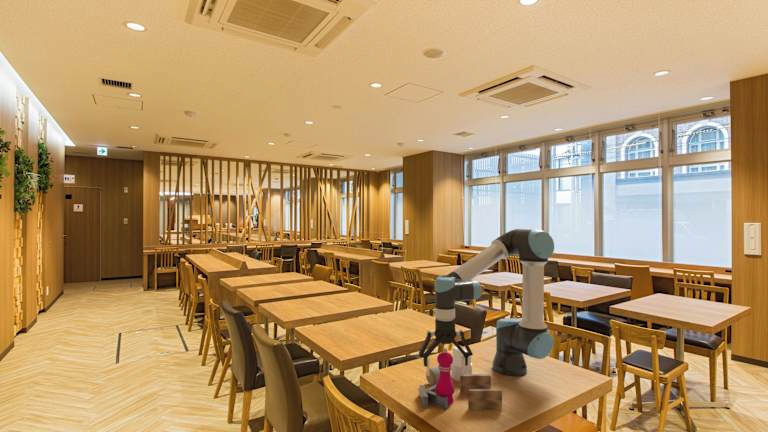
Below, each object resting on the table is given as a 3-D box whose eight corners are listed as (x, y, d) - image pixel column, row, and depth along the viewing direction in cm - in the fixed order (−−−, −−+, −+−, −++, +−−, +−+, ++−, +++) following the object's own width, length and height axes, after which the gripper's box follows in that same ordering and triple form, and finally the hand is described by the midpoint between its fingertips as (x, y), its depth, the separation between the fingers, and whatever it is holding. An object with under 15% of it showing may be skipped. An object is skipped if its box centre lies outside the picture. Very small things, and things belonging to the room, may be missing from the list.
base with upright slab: (447, 375, 175) (447, 348, 175) (462, 371, 179) (462, 345, 179) (460, 383, 167) (460, 354, 167) (476, 378, 171) (476, 351, 171)
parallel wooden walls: (489, 391, 159) (489, 374, 159) (502, 409, 144) (502, 390, 144) (460, 391, 158) (460, 374, 158) (469, 410, 143) (469, 391, 143)
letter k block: (441, 392, 158) (441, 382, 158) (448, 409, 144) (448, 398, 144) (418, 393, 157) (418, 382, 157) (423, 410, 143) (423, 399, 143)
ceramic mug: (424, 382, 167) (425, 364, 167) (440, 379, 171) (441, 361, 171) (439, 393, 158) (439, 374, 157) (455, 389, 161) (456, 370, 161)
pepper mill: (454, 406, 146) (454, 352, 146) (434, 404, 148) (434, 351, 148) (454, 397, 153) (454, 346, 153) (436, 395, 155) (436, 344, 155)
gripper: (475, 315, 155) (475, 369, 155) (411, 316, 154) (412, 371, 154) (480, 320, 147) (480, 377, 147) (413, 322, 146) (414, 379, 147)
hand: (445, 374), depth 151 cm, fingers open, 13 cm apart
